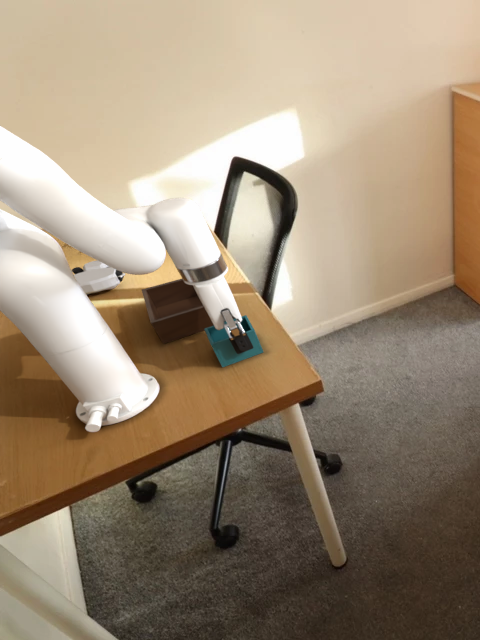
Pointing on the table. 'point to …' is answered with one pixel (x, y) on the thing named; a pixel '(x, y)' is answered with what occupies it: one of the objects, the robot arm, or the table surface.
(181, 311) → the crate
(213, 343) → the box
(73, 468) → the table surface
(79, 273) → the robot toy
